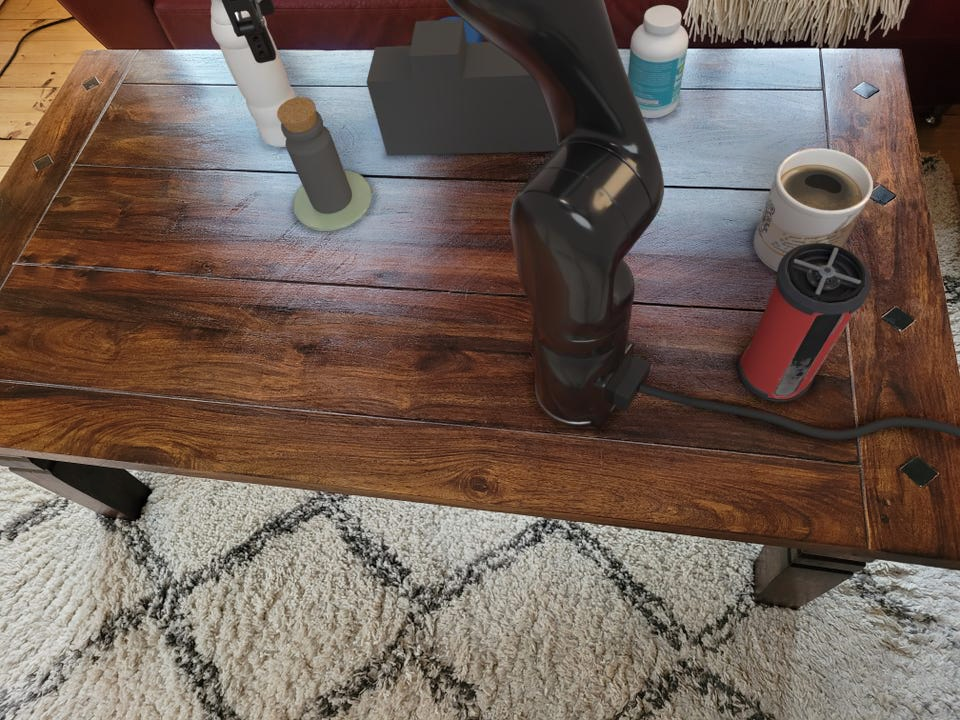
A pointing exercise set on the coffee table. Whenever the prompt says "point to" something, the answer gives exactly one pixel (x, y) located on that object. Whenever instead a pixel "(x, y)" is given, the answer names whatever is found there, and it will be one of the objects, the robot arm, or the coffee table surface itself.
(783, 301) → the speaker
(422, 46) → the camera
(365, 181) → the coaster
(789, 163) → the mug
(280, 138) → the water bottle
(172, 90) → the coffee table surface
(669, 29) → the pill bottle
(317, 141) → the bottle
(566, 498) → the coffee table surface
